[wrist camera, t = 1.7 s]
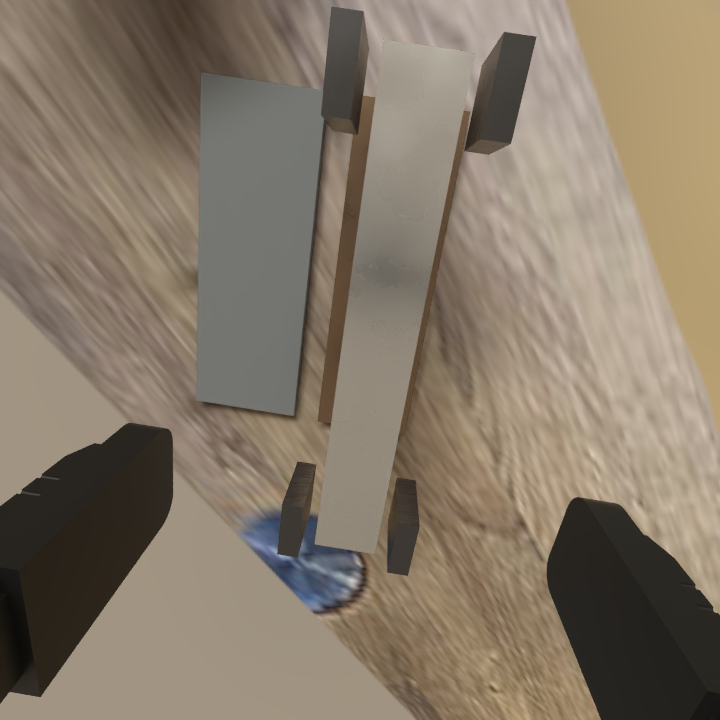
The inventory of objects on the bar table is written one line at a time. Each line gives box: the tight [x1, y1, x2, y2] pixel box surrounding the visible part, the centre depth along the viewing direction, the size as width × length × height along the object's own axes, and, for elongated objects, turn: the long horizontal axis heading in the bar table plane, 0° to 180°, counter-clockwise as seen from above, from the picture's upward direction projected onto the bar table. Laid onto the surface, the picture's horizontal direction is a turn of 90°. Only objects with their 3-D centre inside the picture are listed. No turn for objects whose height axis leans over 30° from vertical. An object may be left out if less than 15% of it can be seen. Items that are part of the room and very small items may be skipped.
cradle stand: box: [277, 7, 536, 576], centre depth 25 cm, size 7×23×16 cm, turn 172°
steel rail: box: [315, 39, 475, 554], centre depth 19 cm, size 3×21×3 cm, turn 172°
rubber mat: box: [196, 72, 326, 416], centre depth 32 cm, size 8×23×1 cm, turn 172°
